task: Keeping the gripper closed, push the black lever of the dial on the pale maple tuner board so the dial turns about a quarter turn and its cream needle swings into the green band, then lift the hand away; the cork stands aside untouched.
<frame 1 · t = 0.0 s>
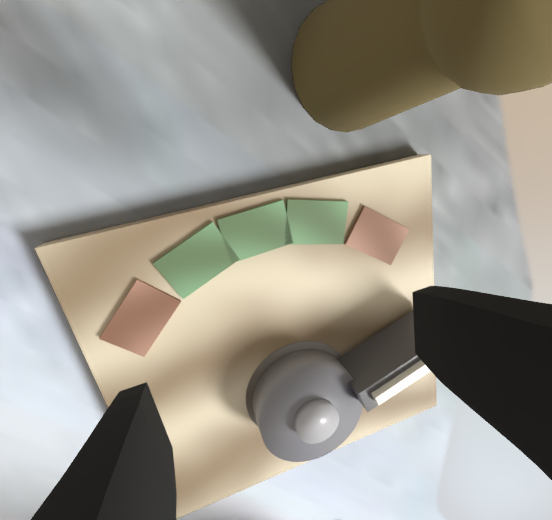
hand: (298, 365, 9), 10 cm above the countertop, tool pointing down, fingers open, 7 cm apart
tuner board: (284, 339, 20), on the countertop
peg dial: (357, 383, 19), point 3 cm above the countertop, hinge at 0.0°
cork: (345, 69, 17), on the countertop
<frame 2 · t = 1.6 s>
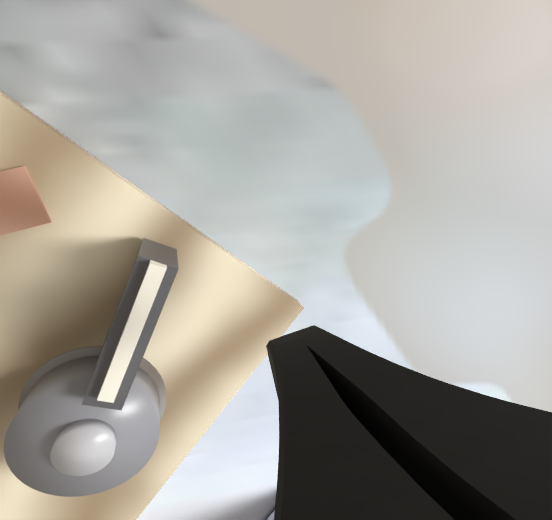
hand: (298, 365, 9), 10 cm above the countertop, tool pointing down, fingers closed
tuner board: (43, 368, 16), on the countertop
peg dial: (110, 379, 14), point 3 cm above the countertop, hinge at 0.0°
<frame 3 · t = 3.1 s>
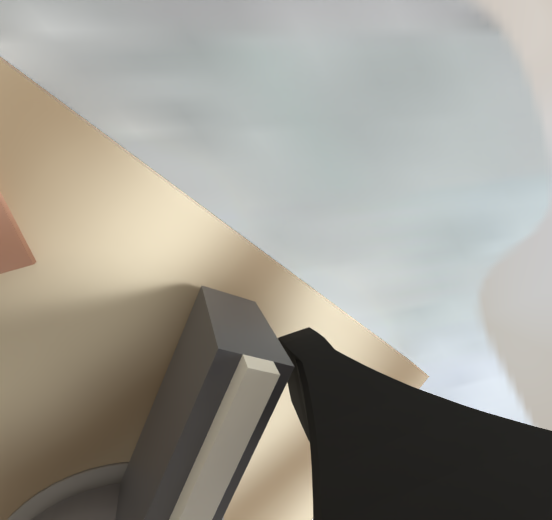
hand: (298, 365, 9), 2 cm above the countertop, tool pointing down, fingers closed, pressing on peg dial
tuner board: (28, 493, 10), on the countertop
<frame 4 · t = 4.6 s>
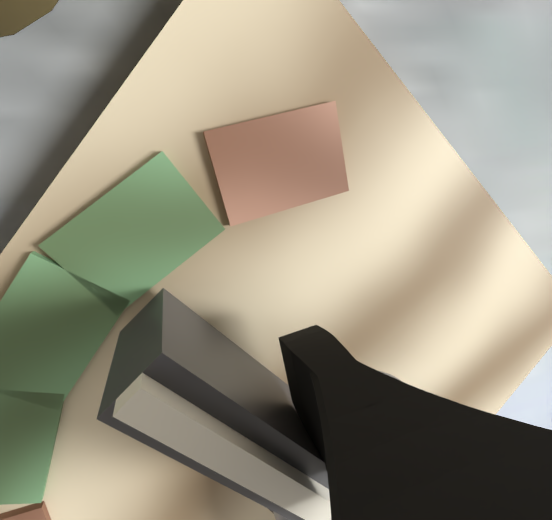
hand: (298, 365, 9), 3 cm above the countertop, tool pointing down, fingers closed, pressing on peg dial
tuner board: (273, 400, 12), on the countertop
peg dial: (317, 464, 9), point 3 cm above the countertop, hinge at 67.2°, touching gripper
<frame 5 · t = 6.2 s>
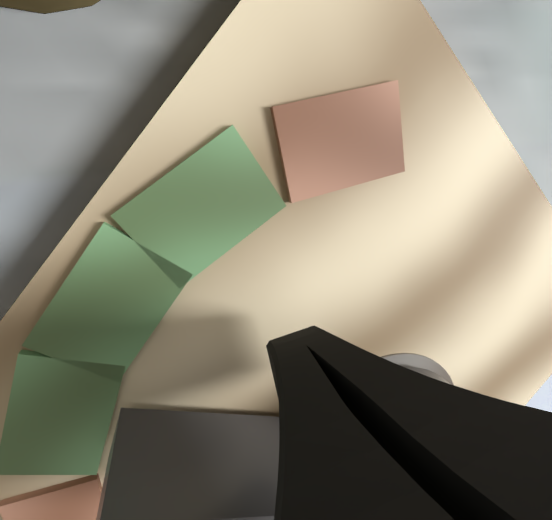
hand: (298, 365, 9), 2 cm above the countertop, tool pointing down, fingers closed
tuner board: (314, 383, 12), on the countertop
peg dial: (339, 485, 9), point 3 cm above the countertop, hinge at 96.7°
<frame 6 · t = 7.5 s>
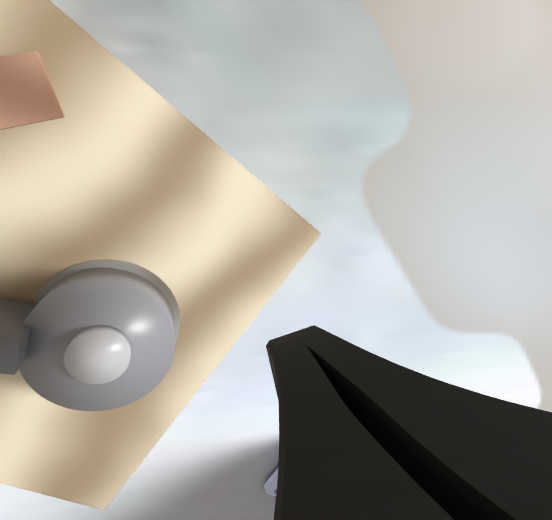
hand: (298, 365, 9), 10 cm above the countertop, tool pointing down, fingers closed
tuner board: (54, 285, 16), on the countertop
peg dial: (18, 337, 13), point 3 cm above the countertop, hinge at 96.8°
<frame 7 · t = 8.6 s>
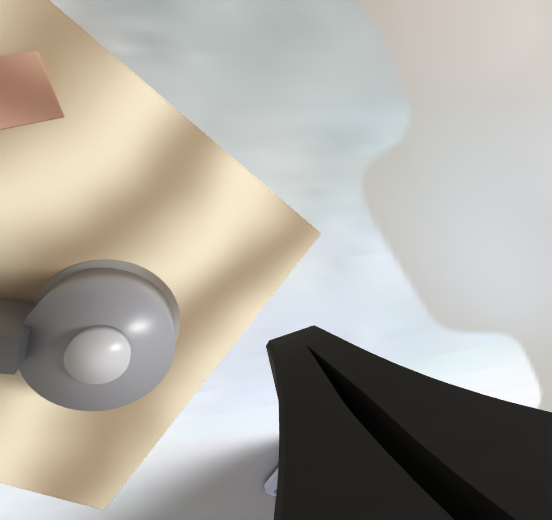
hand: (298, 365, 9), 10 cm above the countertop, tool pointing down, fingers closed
tuner board: (54, 285, 16), on the countertop
peg dial: (18, 337, 13), point 3 cm above the countertop, hinge at 96.8°
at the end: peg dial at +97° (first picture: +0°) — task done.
